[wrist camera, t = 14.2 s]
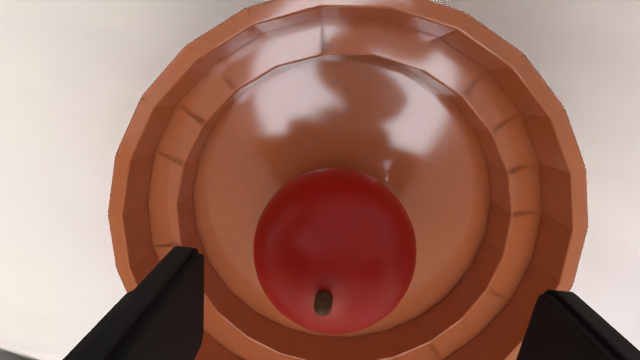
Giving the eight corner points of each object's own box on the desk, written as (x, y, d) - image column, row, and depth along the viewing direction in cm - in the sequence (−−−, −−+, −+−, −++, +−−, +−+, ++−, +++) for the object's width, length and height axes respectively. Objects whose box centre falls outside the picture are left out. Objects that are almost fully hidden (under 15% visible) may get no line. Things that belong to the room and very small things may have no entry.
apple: (294, 133, 17) (240, 182, 10) (428, 175, 16) (472, 257, 9) (264, 247, 19) (202, 355, 12) (380, 286, 19) (388, 419, 12)
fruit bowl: (198, -42, 15) (145, -94, 11) (592, 84, 16) (688, 84, 12) (138, 311, 20) (86, 373, 16) (440, 388, 21) (469, 466, 17)
